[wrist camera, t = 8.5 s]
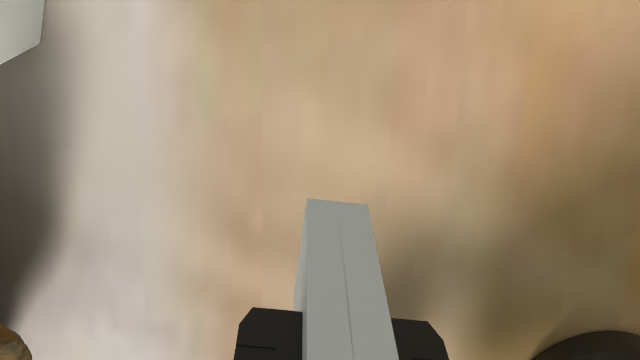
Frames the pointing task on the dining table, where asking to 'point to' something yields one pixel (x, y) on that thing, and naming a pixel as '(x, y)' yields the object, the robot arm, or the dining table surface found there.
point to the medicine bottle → (19, 26)
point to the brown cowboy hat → (12, 346)
